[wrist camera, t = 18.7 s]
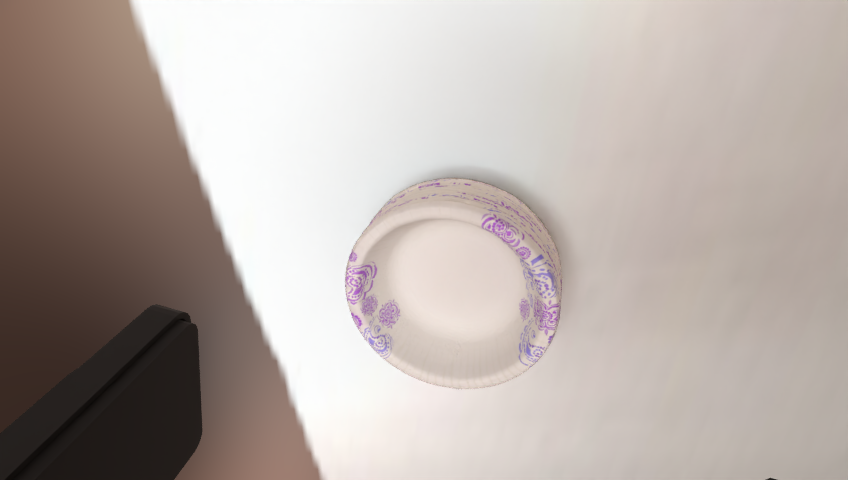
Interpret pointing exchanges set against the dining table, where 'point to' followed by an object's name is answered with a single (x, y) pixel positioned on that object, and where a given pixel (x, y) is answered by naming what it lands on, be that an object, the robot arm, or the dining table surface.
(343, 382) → the dining table surface
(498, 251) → the paper bowls
